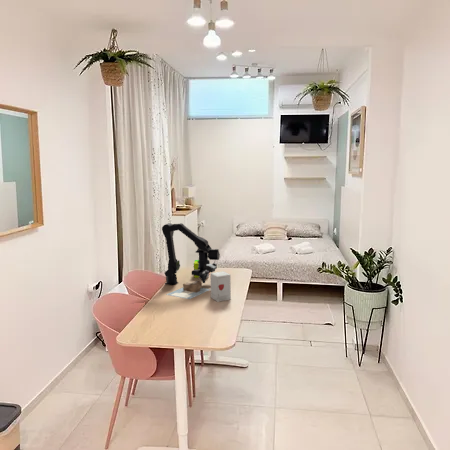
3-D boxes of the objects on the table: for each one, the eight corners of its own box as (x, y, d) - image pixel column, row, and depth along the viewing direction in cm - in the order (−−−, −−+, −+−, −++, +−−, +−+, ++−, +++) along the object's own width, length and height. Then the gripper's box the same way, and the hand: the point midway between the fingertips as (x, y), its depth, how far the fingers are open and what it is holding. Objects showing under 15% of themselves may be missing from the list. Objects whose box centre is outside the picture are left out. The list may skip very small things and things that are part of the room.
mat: (165, 294, 261) (165, 294, 261) (187, 285, 279) (187, 285, 279) (189, 299, 251) (189, 299, 251) (211, 289, 270) (211, 289, 269)
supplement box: (217, 302, 246) (216, 276, 243) (210, 297, 253) (209, 273, 251) (231, 299, 250) (230, 274, 247) (224, 295, 258) (223, 270, 255)
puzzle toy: (208, 277, 297) (208, 263, 296) (194, 277, 297) (193, 263, 296) (209, 273, 307) (209, 259, 306) (195, 273, 307) (194, 260, 306)
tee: (183, 290, 269) (183, 284, 268) (192, 286, 277) (192, 280, 276) (196, 292, 263) (196, 286, 263) (205, 288, 272) (205, 282, 271)
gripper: (205, 263, 264) (205, 288, 266) (221, 257, 280) (222, 281, 282) (190, 261, 270) (191, 286, 272) (207, 256, 285) (208, 278, 288)
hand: (203, 283), depth 278 cm, fingers closed
